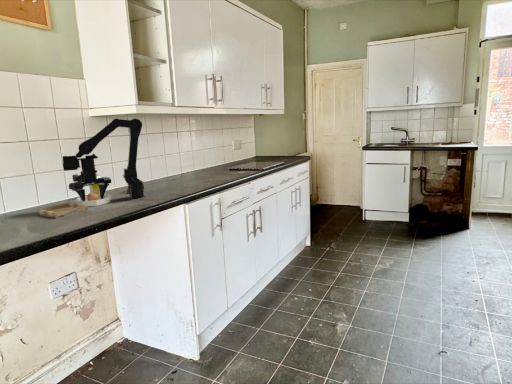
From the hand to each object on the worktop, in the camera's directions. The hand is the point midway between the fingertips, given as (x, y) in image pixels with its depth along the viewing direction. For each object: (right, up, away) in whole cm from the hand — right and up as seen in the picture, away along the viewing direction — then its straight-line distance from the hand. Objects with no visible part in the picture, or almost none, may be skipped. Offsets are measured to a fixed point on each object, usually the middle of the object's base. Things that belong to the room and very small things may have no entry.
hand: (93, 200), depth 169 cm
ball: (0, -1, 0) cm, 1 cm away
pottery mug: (+12, +4, +25) cm, 28 cm away
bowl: (0, -1, 0) cm, 2 cm away
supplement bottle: (-6, +2, +18) cm, 19 cm away
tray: (-7, -5, -14) cm, 16 cm away
